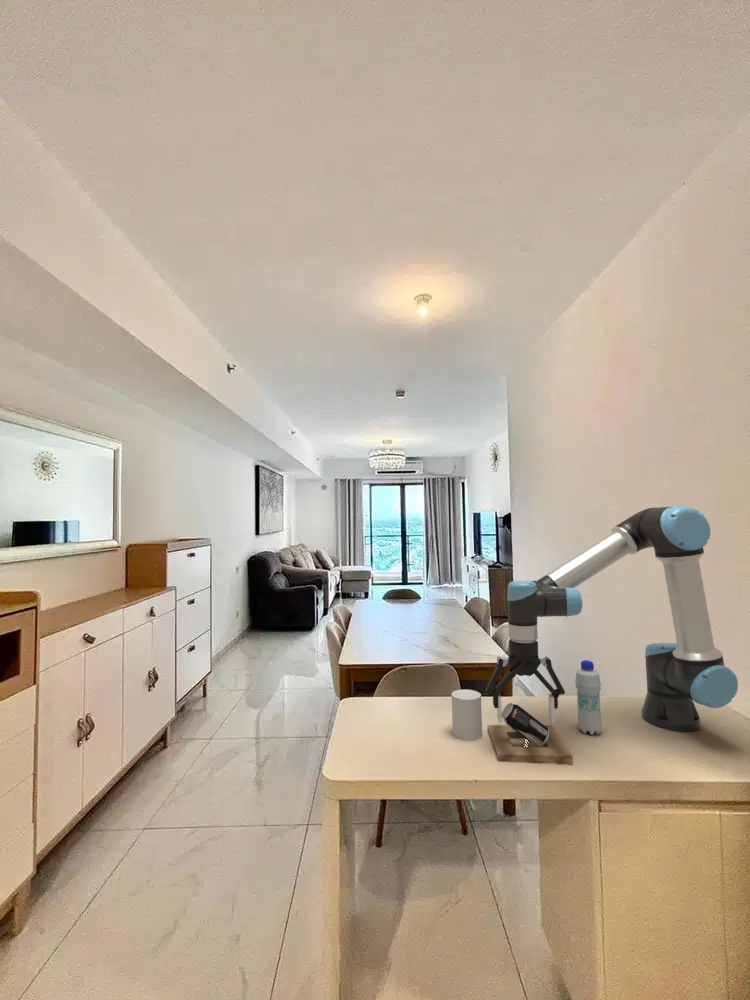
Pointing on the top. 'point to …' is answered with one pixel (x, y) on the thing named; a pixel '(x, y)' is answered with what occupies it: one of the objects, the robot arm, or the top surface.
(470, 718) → the cup
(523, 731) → the beverage can
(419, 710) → the top surface
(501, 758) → the socket block
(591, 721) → the bottle
